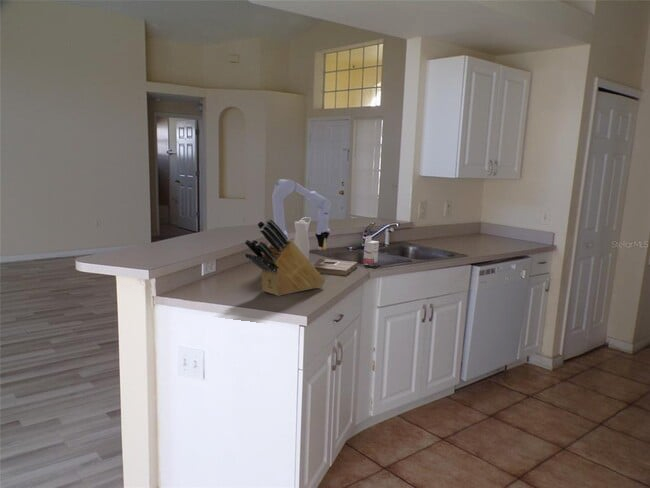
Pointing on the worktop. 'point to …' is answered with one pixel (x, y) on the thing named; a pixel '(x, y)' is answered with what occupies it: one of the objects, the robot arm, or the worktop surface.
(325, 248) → the brass peg
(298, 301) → the worktop surface
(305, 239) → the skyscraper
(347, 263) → the plate
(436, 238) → the worktop surface
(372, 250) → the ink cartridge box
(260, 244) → the knife block
